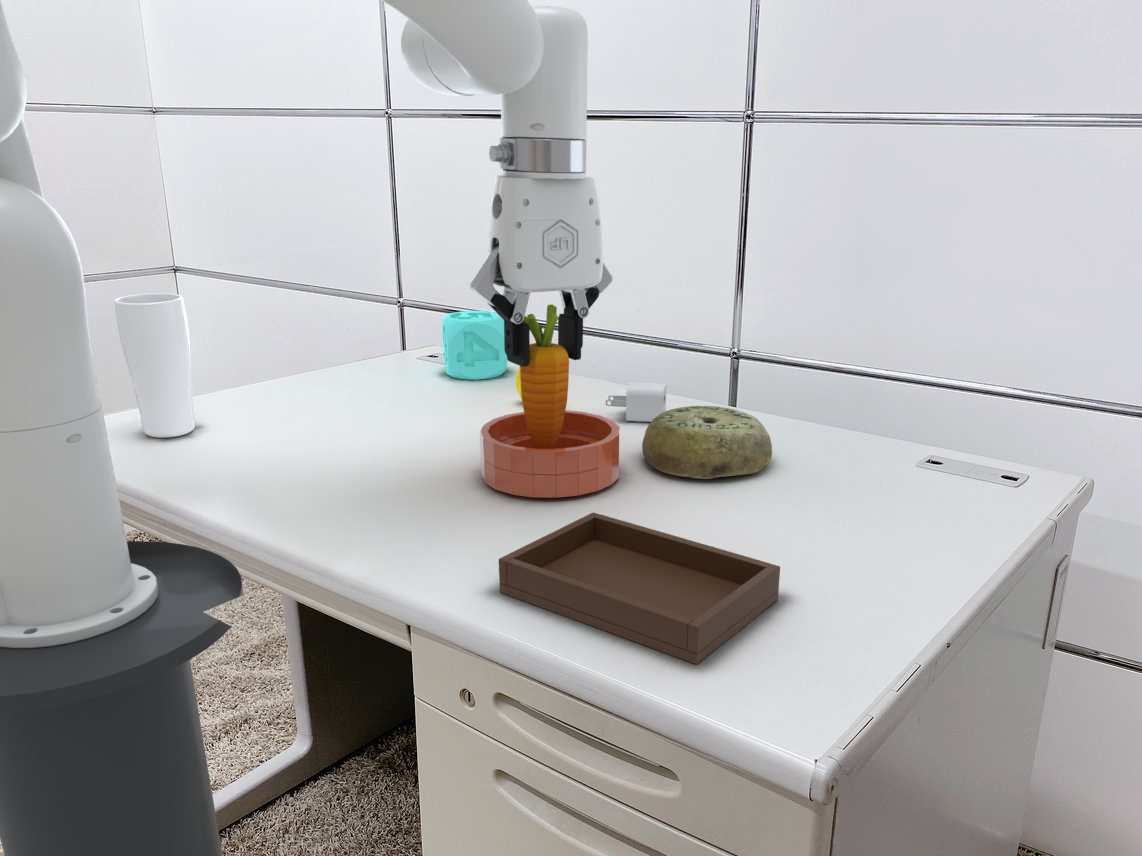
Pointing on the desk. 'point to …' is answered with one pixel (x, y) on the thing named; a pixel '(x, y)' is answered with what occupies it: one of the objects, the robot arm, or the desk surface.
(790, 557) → the desk surface
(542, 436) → the carrot
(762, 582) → the tray
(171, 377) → the drinking glass
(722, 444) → the weight
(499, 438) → the bowl
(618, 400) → the usb wall charger
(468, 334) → the decorative dice
